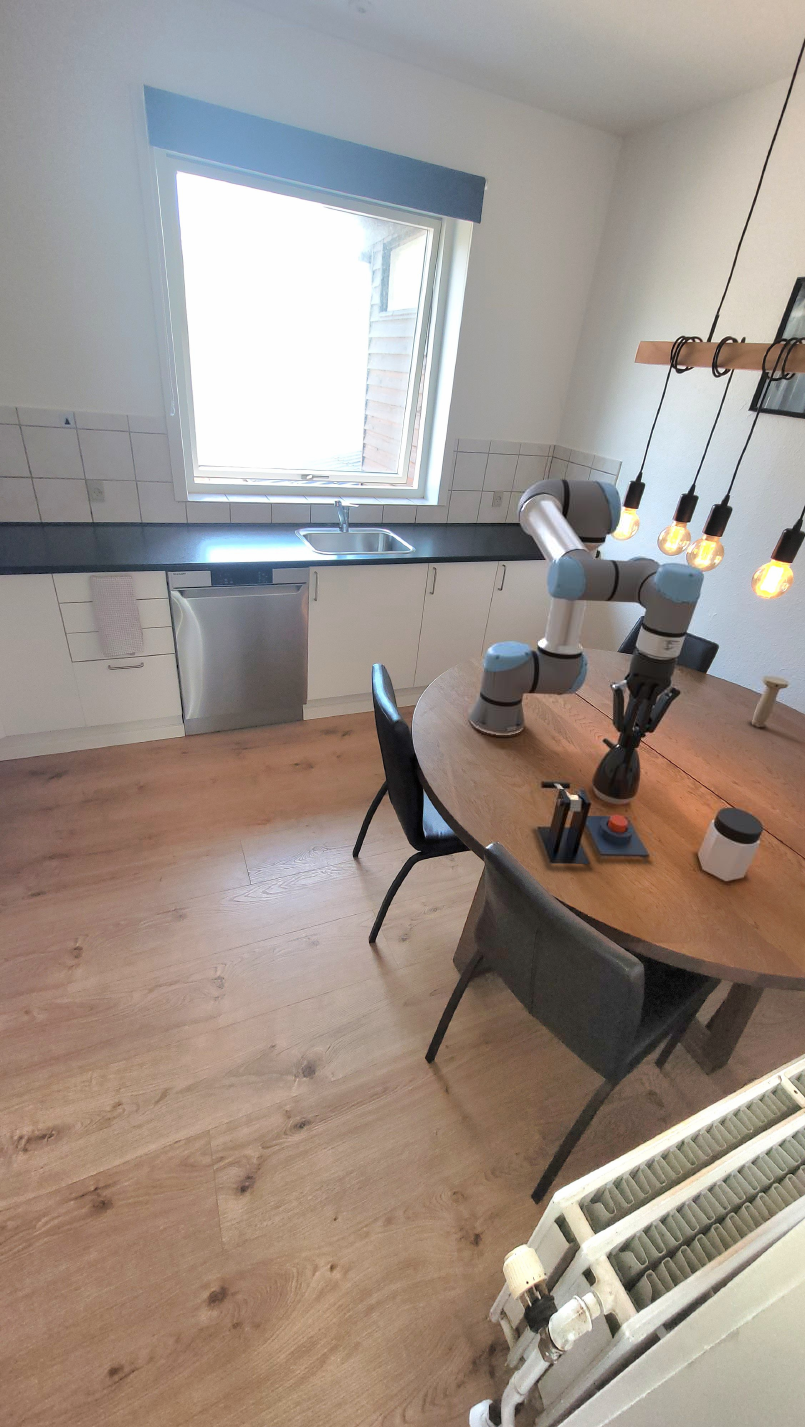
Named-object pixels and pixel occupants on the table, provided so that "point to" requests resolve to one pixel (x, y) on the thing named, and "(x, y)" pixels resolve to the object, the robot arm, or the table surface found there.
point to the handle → (768, 699)
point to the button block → (614, 838)
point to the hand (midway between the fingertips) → (623, 760)
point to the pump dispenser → (616, 776)
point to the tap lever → (574, 799)
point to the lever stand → (566, 831)
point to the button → (618, 823)
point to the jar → (730, 844)
